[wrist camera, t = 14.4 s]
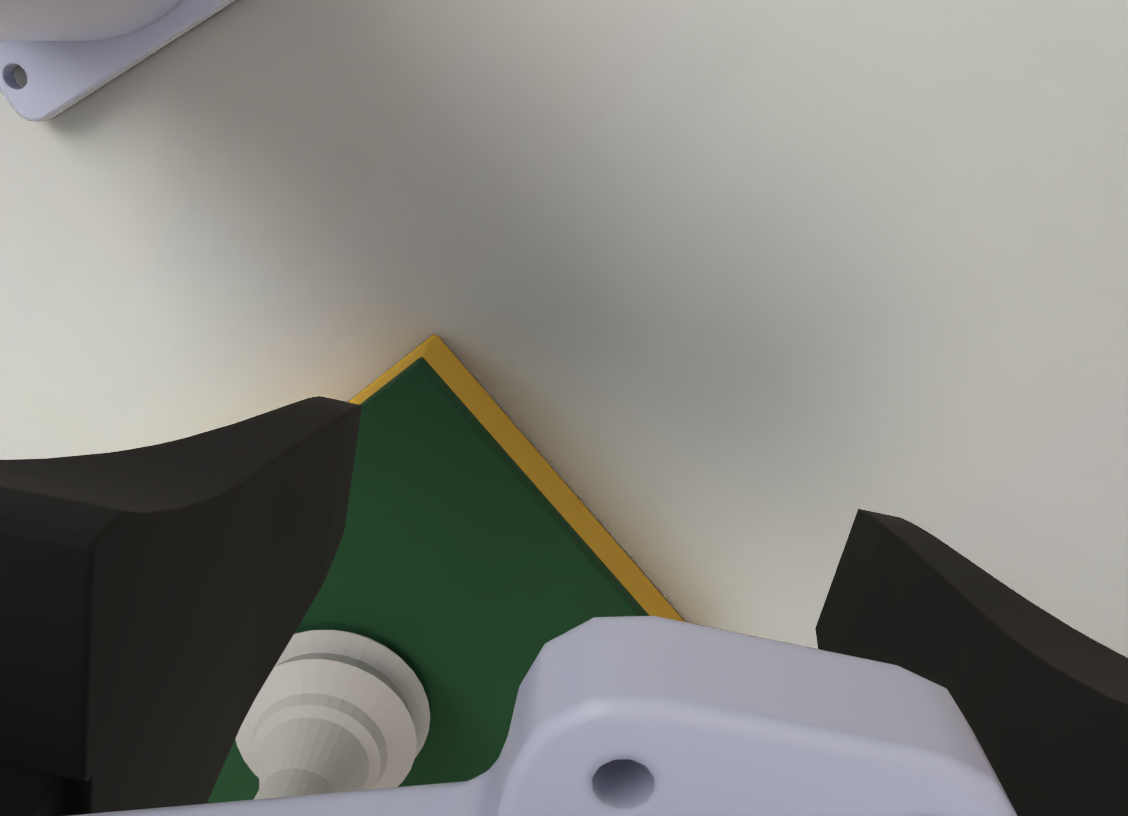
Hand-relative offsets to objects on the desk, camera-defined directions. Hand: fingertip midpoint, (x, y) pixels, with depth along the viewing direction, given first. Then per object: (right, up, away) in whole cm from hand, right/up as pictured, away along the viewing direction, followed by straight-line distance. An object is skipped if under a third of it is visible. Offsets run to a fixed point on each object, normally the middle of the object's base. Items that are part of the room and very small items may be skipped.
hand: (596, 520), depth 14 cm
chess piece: (-6, -6, +11) cm, 14 cm away
